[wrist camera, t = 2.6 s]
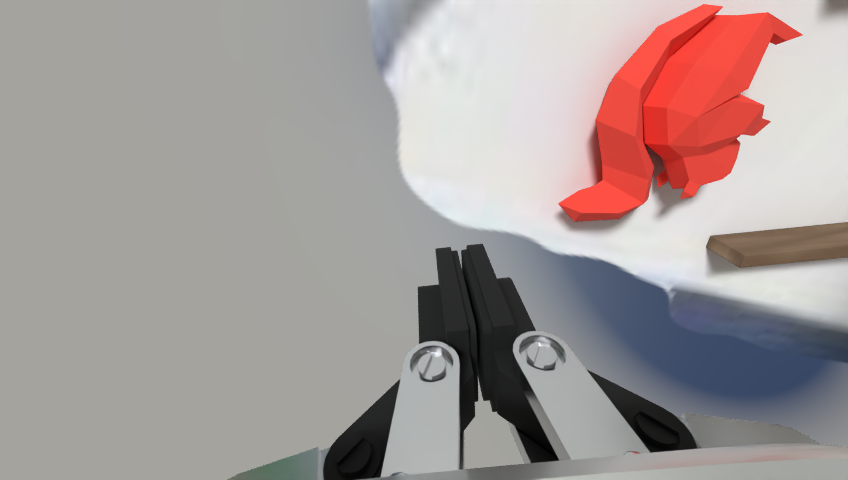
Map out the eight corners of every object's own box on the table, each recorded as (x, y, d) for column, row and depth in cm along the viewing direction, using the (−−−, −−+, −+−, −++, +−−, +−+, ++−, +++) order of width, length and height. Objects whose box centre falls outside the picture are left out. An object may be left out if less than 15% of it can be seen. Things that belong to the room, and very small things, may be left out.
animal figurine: (528, 197, 27) (549, 224, 23) (640, -8, 20) (701, -27, 16) (637, 233, 29) (676, 264, 25) (774, 59, 22) (861, 59, 18)
